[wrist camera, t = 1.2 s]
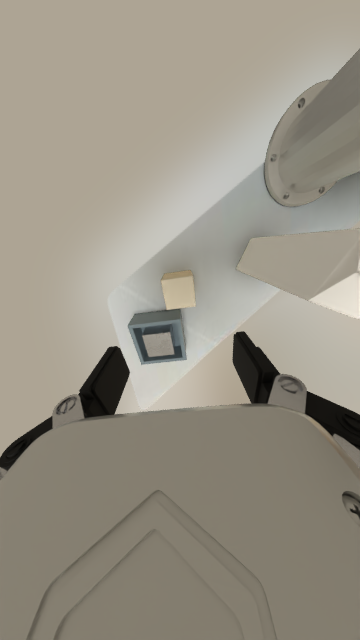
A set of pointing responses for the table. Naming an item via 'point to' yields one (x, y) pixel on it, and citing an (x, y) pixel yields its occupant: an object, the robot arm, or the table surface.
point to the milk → (310, 267)
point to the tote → (156, 319)
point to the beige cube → (178, 290)
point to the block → (159, 340)
